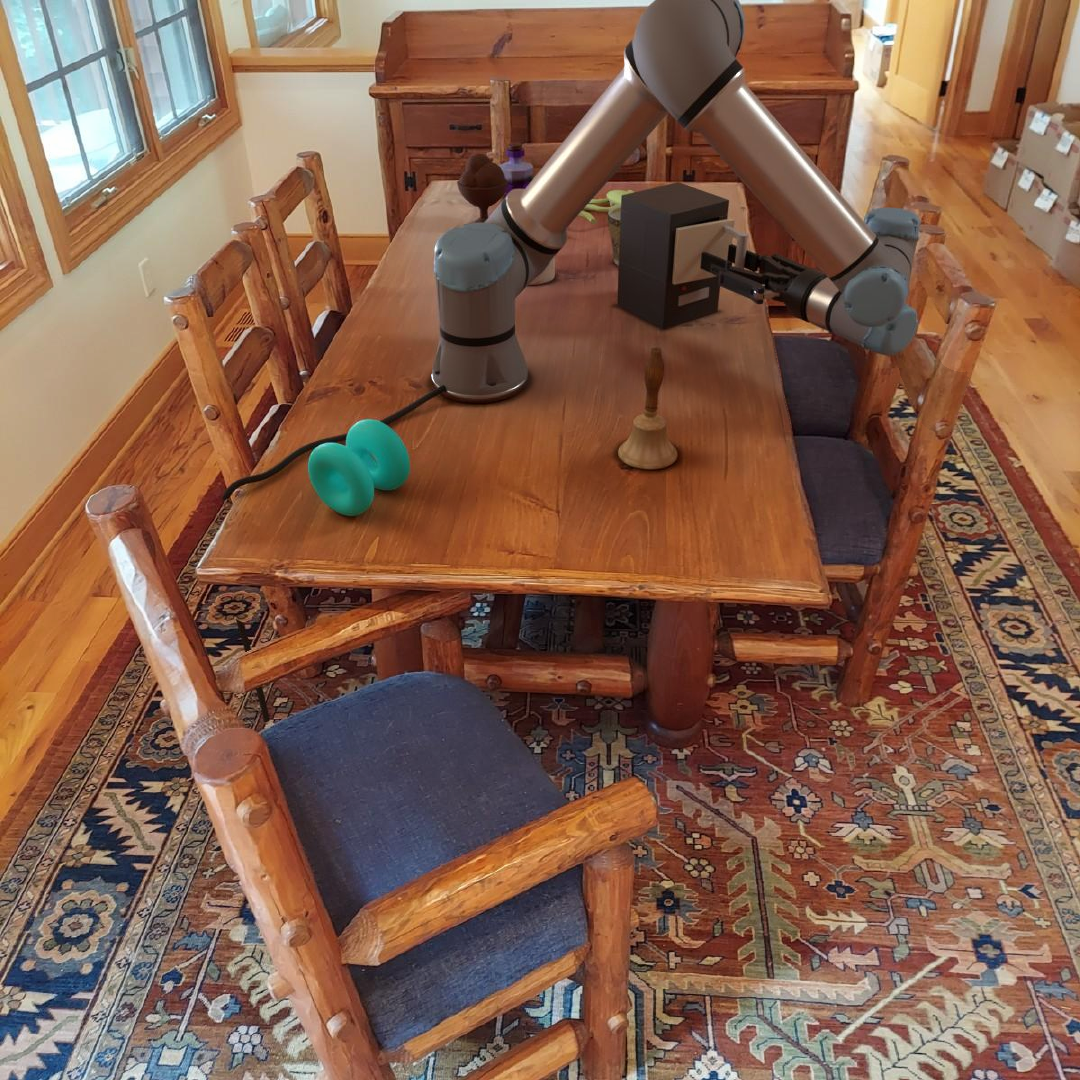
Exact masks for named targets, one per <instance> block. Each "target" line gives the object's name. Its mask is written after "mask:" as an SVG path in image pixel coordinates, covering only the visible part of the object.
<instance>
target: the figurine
mask: <svg viewBox="0 0 1080 1080" xmlns="http://www.w3.org/2000/svg"><path fill="white" fill-rule="evenodd" d="M634 192H635V191H634V190H631V189H628V190H622V189H611V190H609V191H608V192H607V193H606V197H605V198H598V199H596V198H595V197H594V198H593V199H592V200H591V201H590V202H589V203H588V204H587V205H586V207H585V208H584V209H583V210H582V211H581V212H580V213H579V214H578V216H577V217H580V218H585V219H587V220H588V221H589V222H590V224H591V225H596V223H597V220H596V218H595V217H594V215H592V213H590V212H588V211H596V212H598V213H605V214H608V212H609V211H610V210H611V209H613V208H615V207H619V206H621V196H622V195H625V194H629V193H634ZM606 204H609V205H610V206H600V205H606Z"/></svg>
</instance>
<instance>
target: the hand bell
mask: <svg viewBox="0 0 1080 1080" xmlns="http://www.w3.org/2000/svg"><path fill="white" fill-rule="evenodd" d="M644 365H645V366H644V374H643V375H644V384H645V389H646V398H645V405H644V411H643V413H642V414H639V415H637V416H636V417H635V418H634V419H633V421H632V422H633V423H632V428H631V432H630V434H629V437H628V438H627V440H625V441H624V442H623V443H622V444H621V445H620V446H619V448H618V450H617V454H618V457H619V459H620V460H621V461H622V462H623V463H625V464H626V465H627V466H630V467H632V468H635V469H636V468H637V469H642V470H658V469H659V470H660V469H663V468H667V467H670V466H671V465H672V464H674V463H675V462H676V461H677V459H678V454H679V453H678V451H677V449H676V447H675V446H674V445H673V444H672V443H671V442H670V440H669V436H668V432H667V431H668V430H667V422H666V420H665V418H664V417H663V416H661V415H659V414H658V403H659V402H658V401H659V392H660V389H661V387H662V384H663V380H664V376H665V361H664V358H663V354H662V349H661V348H660V347H657V346H656V347H655V346H654V347H652V348H651V349H650V354H649V355H648V357H647V360H646V361H645V364H644Z"/></svg>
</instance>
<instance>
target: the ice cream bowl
mask: <svg viewBox="0 0 1080 1080" xmlns="http://www.w3.org/2000/svg"><path fill="white" fill-rule="evenodd" d="M498 165H499V164H497V163H496V162H493V161H491V159H490V158H489V156H487V155H486V154H485V153H479V152H477V153H474V154H472V155H470V156H469V157H468V159H467V160H466V163H465V171H463V172H462V173H461V175H460V177H459V180H457V182H456V184H457V189H458V191H459V193H460V195H461V196H462V197H463V198H464V200H466V201H467V203H469V204H470V205H472V206H474V207H476V208H478V210H479V217H478V218H477V219H476V220H474V221H473V222H472V223H484V222H485V221H486V220H487V219H488V218H489V217H490V216H489V212H488V210H489V208H490V207H492V206H494V205H496V204H497V203H498V202H499V201H500V200H501V199H502V198H503V197H504V195H506V193H505V192H506V190H507V185H508V181H507V180H506V179H505V176H504V173H503V171H502V169H501V167H500V166H498Z"/></svg>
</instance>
